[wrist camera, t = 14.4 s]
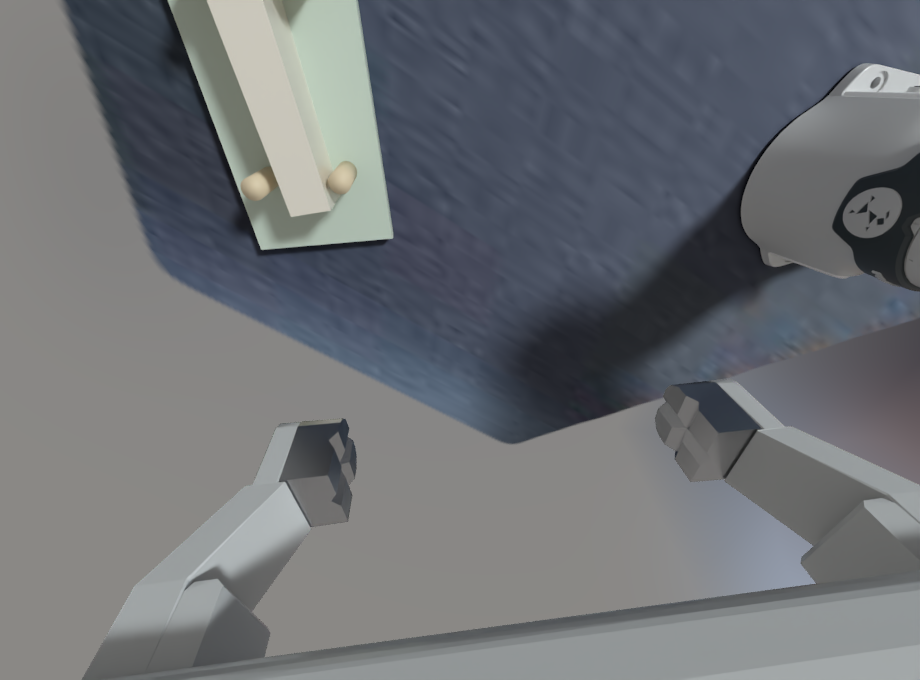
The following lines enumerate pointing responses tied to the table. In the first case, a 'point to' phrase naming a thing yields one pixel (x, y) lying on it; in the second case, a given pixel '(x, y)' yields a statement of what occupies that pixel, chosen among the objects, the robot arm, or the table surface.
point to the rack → (338, 112)
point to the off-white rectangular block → (277, 99)
